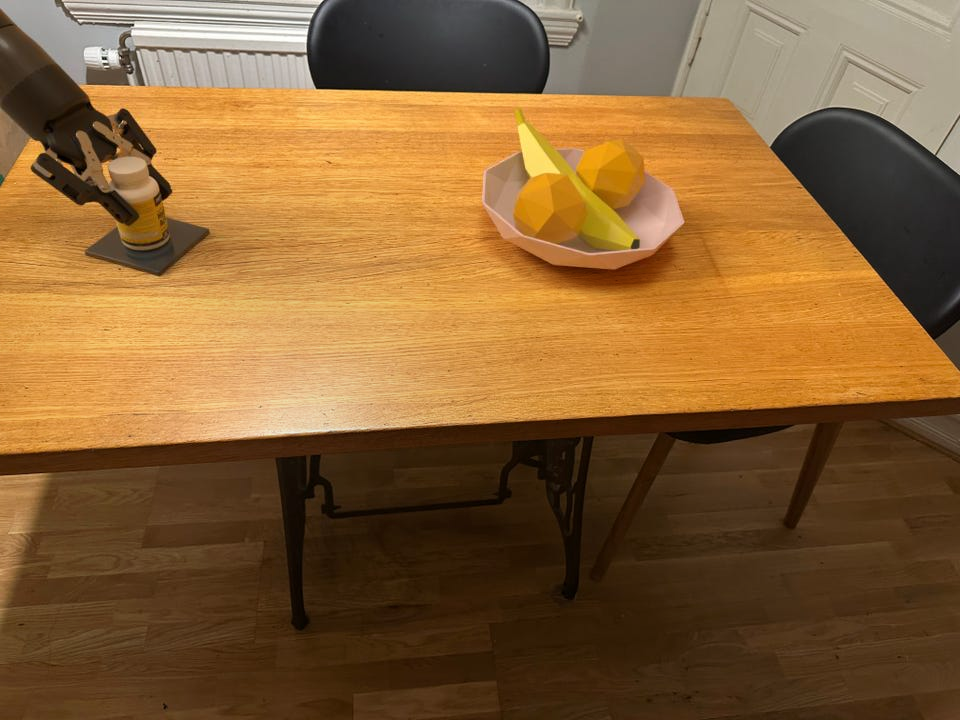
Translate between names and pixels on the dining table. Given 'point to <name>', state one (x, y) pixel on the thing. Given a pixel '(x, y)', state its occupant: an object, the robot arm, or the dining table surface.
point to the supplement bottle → (139, 204)
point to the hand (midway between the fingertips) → (151, 208)
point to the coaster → (149, 260)
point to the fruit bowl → (579, 202)
